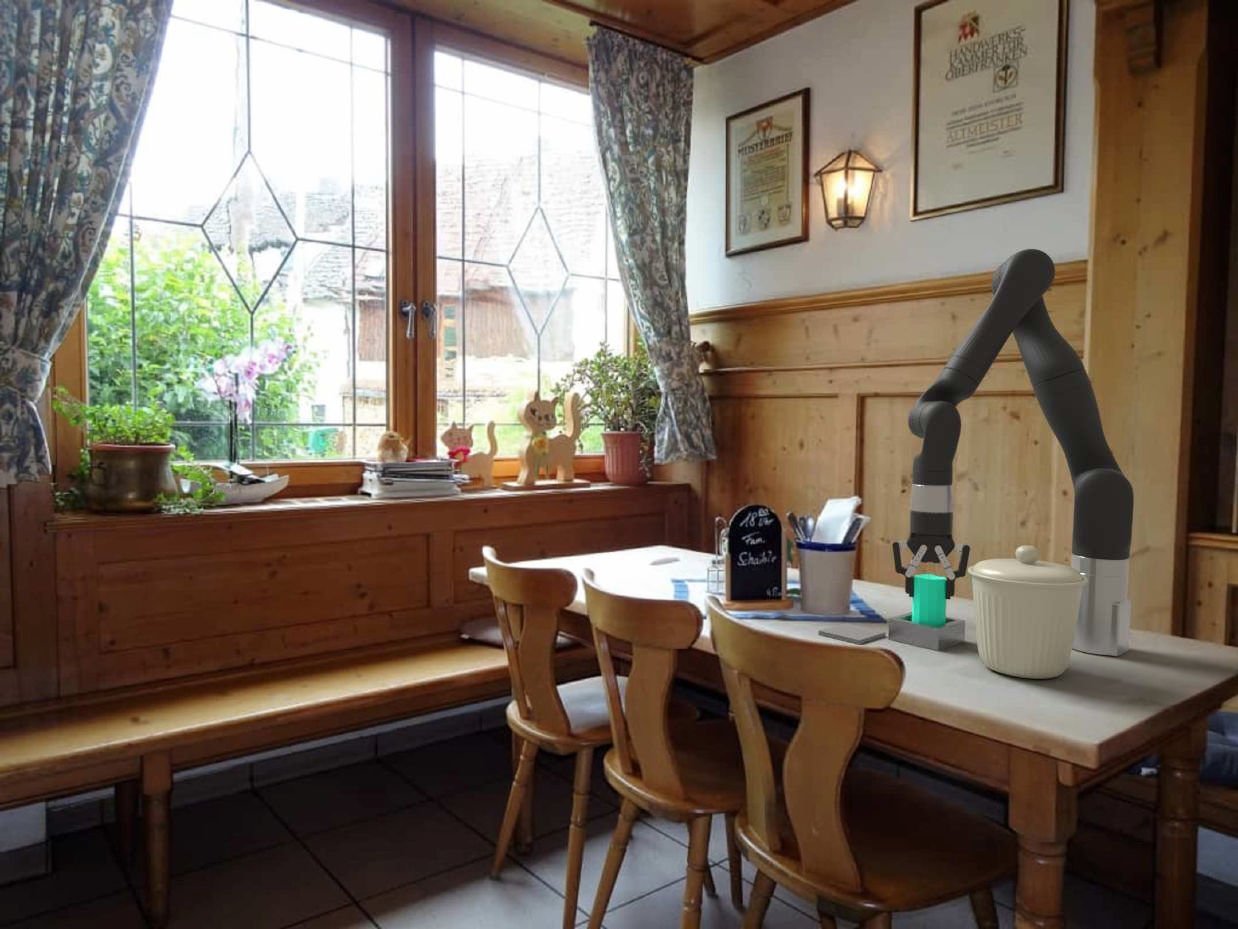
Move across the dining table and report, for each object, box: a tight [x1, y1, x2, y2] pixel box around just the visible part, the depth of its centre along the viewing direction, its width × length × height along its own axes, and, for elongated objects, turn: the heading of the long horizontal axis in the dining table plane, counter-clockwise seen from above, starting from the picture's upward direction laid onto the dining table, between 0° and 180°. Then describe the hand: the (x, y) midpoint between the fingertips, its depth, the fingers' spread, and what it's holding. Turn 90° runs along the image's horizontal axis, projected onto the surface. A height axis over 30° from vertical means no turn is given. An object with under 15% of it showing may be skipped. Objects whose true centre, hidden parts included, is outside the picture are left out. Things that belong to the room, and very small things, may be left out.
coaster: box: [817, 623, 887, 645], centre depth 166 cm, size 9×9×1 cm
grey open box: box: [887, 611, 966, 651], centre depth 163 cm, size 10×10×4 cm
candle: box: [911, 572, 947, 627], centre depth 162 cm, size 6×6×12 cm
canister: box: [967, 545, 1088, 680], centre depth 144 cm, size 18×18×21 cm
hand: (929, 597), depth 162 cm, fingers closed on candle, 6 cm apart
